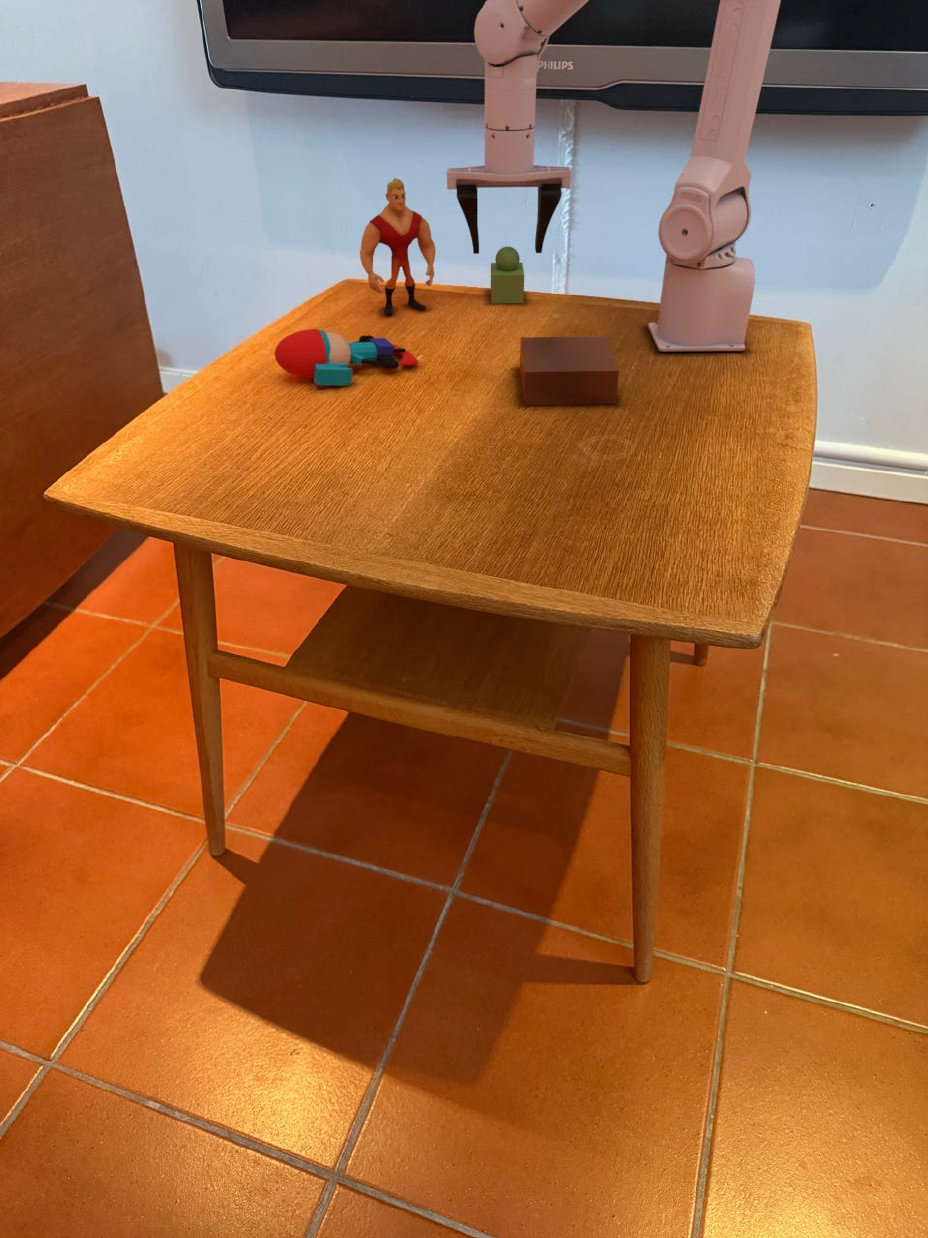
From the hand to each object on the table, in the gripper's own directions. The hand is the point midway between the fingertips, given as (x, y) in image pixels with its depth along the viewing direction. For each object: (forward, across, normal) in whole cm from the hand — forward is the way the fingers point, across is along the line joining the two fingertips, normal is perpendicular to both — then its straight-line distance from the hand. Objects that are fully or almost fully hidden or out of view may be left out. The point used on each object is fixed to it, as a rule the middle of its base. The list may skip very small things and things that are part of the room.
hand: (507, 251), depth 109 cm
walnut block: (+6, -5, +28) cm, 29 cm away
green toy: (+6, 0, 0) cm, 6 cm away
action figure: (+6, +13, +4) cm, 15 cm away
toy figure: (+6, +18, +24) cm, 30 cm away
